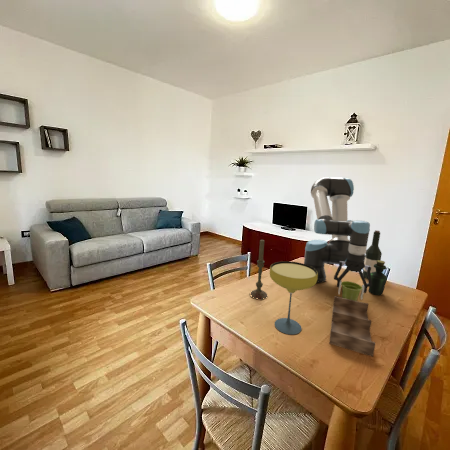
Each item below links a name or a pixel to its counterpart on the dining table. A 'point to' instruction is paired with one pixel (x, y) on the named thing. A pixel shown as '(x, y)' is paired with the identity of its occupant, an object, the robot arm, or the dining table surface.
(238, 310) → the dining table surface
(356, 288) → the plant pot
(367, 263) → the wine bottle
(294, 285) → the cocktail glass
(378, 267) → the potion bottle
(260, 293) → the candlestick holder
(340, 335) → the rack
